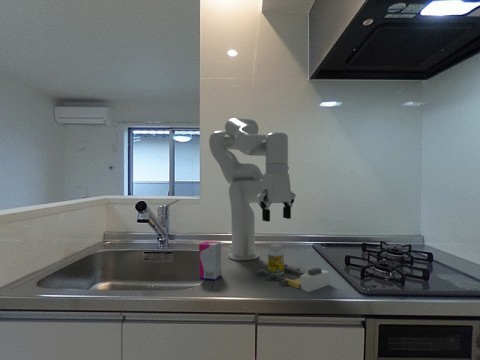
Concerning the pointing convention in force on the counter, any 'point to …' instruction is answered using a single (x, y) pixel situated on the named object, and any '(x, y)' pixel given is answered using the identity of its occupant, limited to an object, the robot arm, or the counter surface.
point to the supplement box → (210, 260)
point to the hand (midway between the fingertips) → (276, 219)
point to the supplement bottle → (276, 259)
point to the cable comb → (306, 281)
